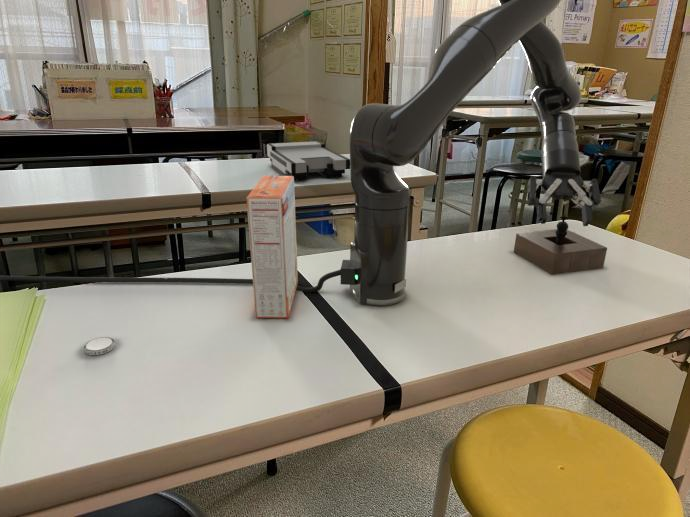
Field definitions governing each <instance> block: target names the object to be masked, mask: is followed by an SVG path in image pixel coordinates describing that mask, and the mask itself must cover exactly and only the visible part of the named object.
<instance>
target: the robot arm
mask: <svg viewBox="0 0 690 517" xmlns="http://www.w3.org/2000/svg"><path fill="white" fill-rule="evenodd" d="M561 2H562V0H498V3H499V5H498V6H495V7H493V8H491V9H488V10H486V11H482V12H481V13H478V14H476V15H474V16H472V17H470V18H468V19H466V20H464V21H463V22H462V23H460V24H459V25H458V26H457V27H456V28H455V29H454V30H453V31H452V32H451V33H450V34H449V35H448V36H447V37H445V39H444V40H443V41H442V42H441V43H440V44H439V45H438V47H437V48H436V49H435V52H434V53H433V55H432V58H431V61H430V67H429V73H428V79H427V80H426V82H425V84H424V85H423V86H422V87H421V88H420V89H419V90H418V91H417V92H416V93H415V94H414V95H413V97H411V98H410V99H409V100H408V101H406V102H404V103H402V104H400V105H396V104H387V103H380V102H379V103H378V102H373V103H372V102H371V103H366V104H364V105H363V106H361V107H360V108H359V109H358V110H357V111H356V113H355V114H354V117H353V118H352V121H351V125H350V129H349V159H350V169H349V171H350V184H351V187H352V190H353V192H354V238H353V241H352V242H350V244H349V245H350V247H349V251H350V252H349V259H342V261H341V266H340V269H338V270H334V271H331V272H328V273H325V274H324V275H322V276H321V277H320V278H319V280H318V282H317V285H315V286H312V287H304V286H299V285H297V288H296V291H299V292H304V293H316V292H319V291H320V290H321V289H322V288H323V285H324V284H325V282H326V281H327V280H330V279H332V278H335V277H338V276H339V277H340V285H345V286H349V292H350V293H351V294H352V296H353V297H354V299H355V300H356V301H357V302H358V304H359V305H371V306H381V307H382V306H390V305H395V304H397V303H400V302H402V301H403V300H404V298H405V296H406V295H405V294H406V293H405V292H406V289H405V288H406V287H407V278H406V270H407V268H406V267H407V266H406V265H407V255H408V254H407V252H408V237H409V236H408V235H409V221H410V220H409V219H410V205H411V204H410V203H411V189H410V187H409V186H408V184H406V183H405V182H404V181H403V180H402V179H401V178H400V177H399V176H398V174H397V171H396V170H395V167H403V166H406V165H408V164H410V163H411V162H413V161H414V160H415V159H416V158H417V157H418V156H419V155H420V154H421V153H422V152H423V150H424V149H425V148H426V147H427V145H428V143H429V142H430V141H431V140H432V139H433V137H434V136H435V134H436V133H437V132H438V131H439V129H440V127H441V126H442V125H443V124H444V122H445V121H446V120H447V119H448V118H449V116H450V115H451V114H452V113H453V111H454V110H455V109H456V108H457V107H458V106H459V104H461V102H462V101H463V100H464V99H465V98H466V97H467V96H468V95H469V94H470V92H471V91H473V89H474V88H475V87H476V86H478V85H479V83H481V81H482V80H483V79H484V78H485V77H486V76H487V75H488V74H489V73H490V72H491V71H492V70H493V69H494V68H495V66H496V65H497V64H498V63H499V62H500V61H501V59H502V58H503V57H504V56H505V55H506V54H507V53H508V52H509V51H510V50H511V49H512V48H513V47H514V46H516V44H517V43H518V42H519V43H520V45H521V47H522V49H523V51H524V53H525V56H526V59H527V61H528V66H529V69H530V73H531V76H532V80H533V83H534V85H535V86H536V87H535V88H534V89H533V91H532V92H531V95H530V103H531V105H532V109H533V111H534V113H535V116H536V117H537V119H538V123H539V126H540V134H541V148H540V149H541V150H540V153H541V155H540V159H541V170H542V178H537V177H536V176H535V175H531V176H530V178H529V180H528V182H527V191H526V192H527V193H526V194H527V195H526V197H527V198H526V199H527V200H526V204H527V206H528V207H529V206H530V207H532V206H533V207H535V208H536V220H537V221H538V222H539V223H540V225H545V224H546V222H547V221H548V220H547V219H548V217H547V214H548V213H547V203H548V202H549V201H550V199H551V198H552V199H553V200H554V201H559V200H563V201H570V200H571V201H572V202H573V204H575V205H578V207H580V208H581V219H582V226H583V227H588V226H589V225H590V224H591V222H593V218H594V217H593V210H595V209H597V208H598V207H599V205H600V204H601V203H602V199H601V192H600V186H599V181H598V179H597V178H592V179H591V180H583V178H582V177H581V175H582V174H581V163H580V162H581V161H580V153H579V151H580V150H579V144H578V140H577V133H576V122H575V118H574V116H573V115H572V114H570V113H568V112H567V111H572V110H574V109H576V107H578V105H579V104H580V103H581V99H582V91H581V87H580V84H579V83H578V82H577V79H575V77H574V76H573V75H572V73H570V71H569V69H568V66H567V60H566V57H565V52H564V48H563V45H562V44H561V42H560V40H559V38H558V36H556V35H555V33H553V31H552V30H551V29H550V28H549V27H548V26H547V25H546V24H545V22H544V21H543V20H545V19H546V18H548V16H549V15H550V14H551V13H553V11H554V10H555V9H556V8H557V7H558V6H559V4H560V3H561ZM539 186H540V187H541V188H542V189H543V190H544V191H545V192H544V194H542V196H541V197H537V190H538V189H539ZM583 188H584V189H585V191H584V190H583ZM586 193H588V196H587V194H586ZM0 281H6V282H7V281H8V282H36V283H37V282H38V283H39V282H41V283H45V282H46V283H49V282H50V283H164V284H165V283H167V284H168V283H169V284H171V283H177V284H178V283H179V284H180V283H182V284H183V283H184V284H185V283H187V284H191V283H192V284H235V285H236V284H237V285H253V278H228V277H227V278H226V277H225V278H223V277H222V278H221V277H121V276H120V277H111V276H107V277H106V276H105V277H102V276H101V277H99V276H98V277H95V276H94V277H93V276H92V277H91V276H90V277H89V276H88V277H87V276H86V277H85V276H84V277H83V276H82V277H81V276H76V277H75V276H29V275H28V276H27V275H26V276H25V275H23V276H22V275H0Z"/></svg>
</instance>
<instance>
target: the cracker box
mask: <svg viewBox="0 0 690 517" xmlns="http://www.w3.org/2000/svg"><path fill="white" fill-rule="evenodd" d="M295 192H296V191H295V181H294V176H283V175H275V174H274V175H273V174H272V175H262V176H261V178H260V179H259V180H258V182H257V183H256V185H255V186H254V187H253V189H252V190H251V191H250V192H249V194H248V195H247V196H246V209H247V223H248V224H247V225H248V233H249V234H248V236H249V247H250V260H251V261H250V262H251V274H252V279H253V284H252V288H253V298H254V312H255V318H256V319H289V318H290V315H291V312H292V307H293V303H294V299H295V295H296V291H297V290H296V288H297V286H298V285H299V284H298V283H299V276H298V274H299V272H298V248H297V224H296V223H297V221H296V198H295V196H296V194H295Z"/></svg>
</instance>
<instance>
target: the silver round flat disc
mask: <svg viewBox="0 0 690 517" xmlns="http://www.w3.org/2000/svg"><path fill="white" fill-rule="evenodd" d="M83 348H84V352H85V354H87V355H89V356H99V355H102V354H103V355H104V354H106V353H108V352H111V351H112V350H113V349H114V348H115V340H114V338H112V337H109V336H102V337H101V336H100V337H96V338H92V339H91V340H89V341H87V342H86V343H85V344H84V346H83Z"/></svg>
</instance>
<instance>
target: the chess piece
mask: <svg viewBox="0 0 690 517" xmlns="http://www.w3.org/2000/svg"><path fill="white" fill-rule="evenodd" d="M559 218H560V219H561V220H562V221H559V222H558V223H557V224H556V229H557V230H556V231H555V233H556V237H557V240H556V243H555V244H557V245H563V240H564V238H565V236H566V235H567V232H566V230H569V224H568V222H566V220H569V217H567V216H566V215H565V214H564V215H563V216H560V217H559Z"/></svg>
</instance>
